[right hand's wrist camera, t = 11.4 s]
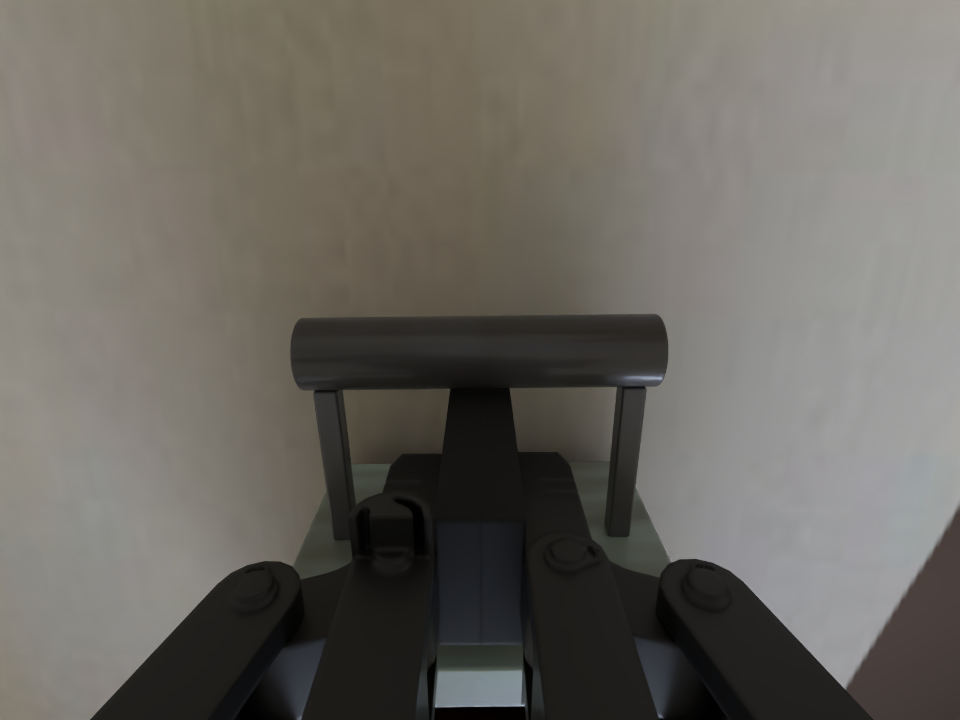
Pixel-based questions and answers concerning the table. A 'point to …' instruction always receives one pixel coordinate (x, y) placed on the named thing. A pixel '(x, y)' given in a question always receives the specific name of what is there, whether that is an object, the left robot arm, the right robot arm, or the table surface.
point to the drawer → (467, 365)
